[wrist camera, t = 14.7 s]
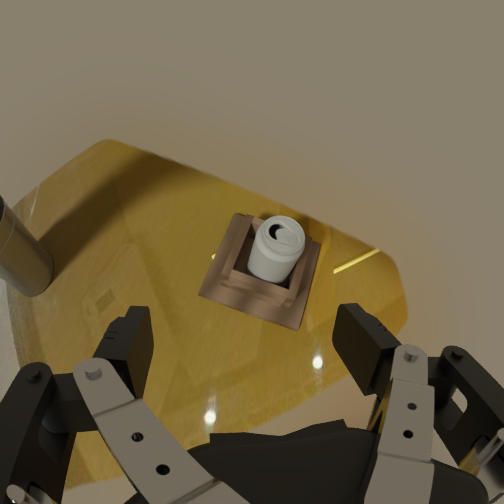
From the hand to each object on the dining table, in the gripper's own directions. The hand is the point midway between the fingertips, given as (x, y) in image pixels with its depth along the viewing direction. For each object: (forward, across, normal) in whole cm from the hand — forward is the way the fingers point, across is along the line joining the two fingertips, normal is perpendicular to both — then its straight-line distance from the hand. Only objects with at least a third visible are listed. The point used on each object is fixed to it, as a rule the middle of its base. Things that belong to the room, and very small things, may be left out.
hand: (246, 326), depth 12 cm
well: (+33, -7, +10) cm, 35 cm away
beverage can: (+32, -7, +10) cm, 34 cm away
